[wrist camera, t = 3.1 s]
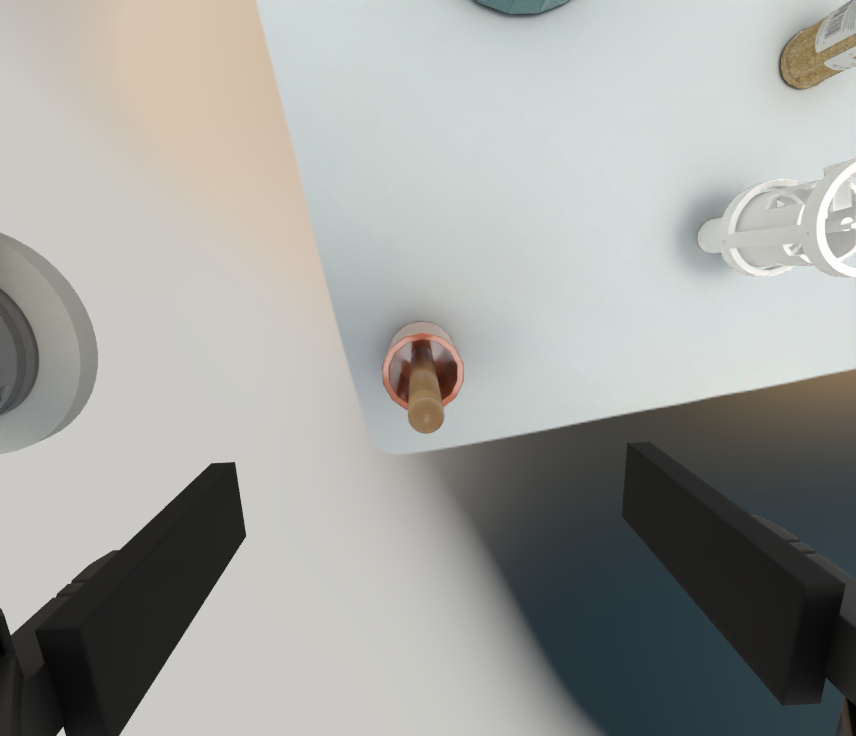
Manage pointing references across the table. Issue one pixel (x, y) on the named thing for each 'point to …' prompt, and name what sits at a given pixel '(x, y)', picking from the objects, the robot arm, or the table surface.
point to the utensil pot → (400, 361)
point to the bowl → (522, 5)
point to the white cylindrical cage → (789, 226)
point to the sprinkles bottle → (821, 49)
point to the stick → (424, 393)
